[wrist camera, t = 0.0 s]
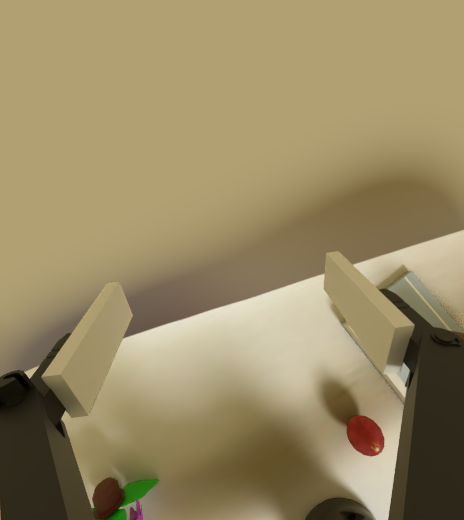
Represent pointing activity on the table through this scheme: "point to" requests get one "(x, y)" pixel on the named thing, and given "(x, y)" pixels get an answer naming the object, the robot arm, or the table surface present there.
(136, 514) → the potted plant
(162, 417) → the table surface
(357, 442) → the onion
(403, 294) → the wall panel
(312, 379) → the table surface
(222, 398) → the table surface
